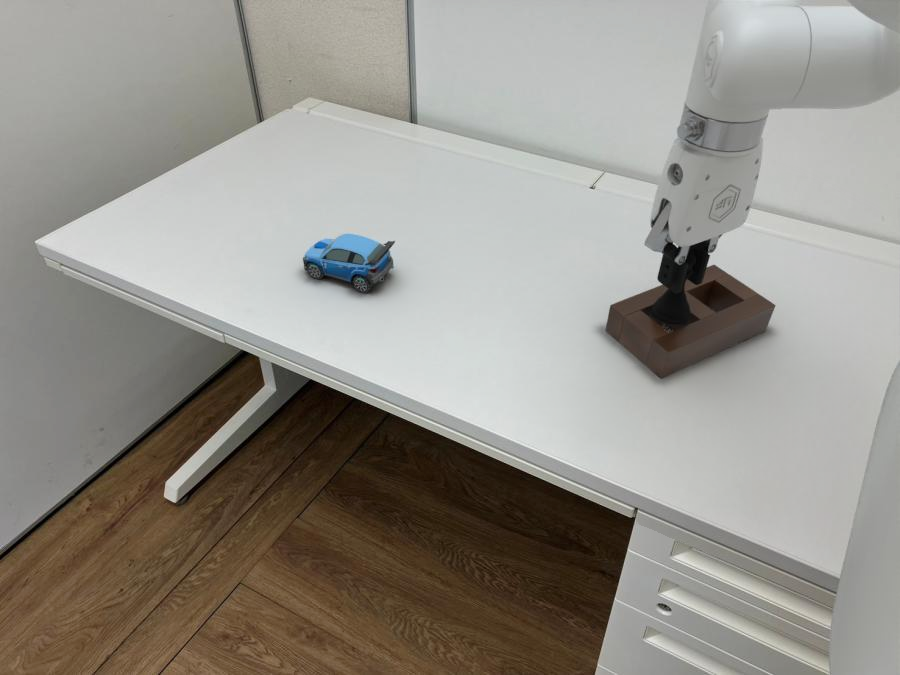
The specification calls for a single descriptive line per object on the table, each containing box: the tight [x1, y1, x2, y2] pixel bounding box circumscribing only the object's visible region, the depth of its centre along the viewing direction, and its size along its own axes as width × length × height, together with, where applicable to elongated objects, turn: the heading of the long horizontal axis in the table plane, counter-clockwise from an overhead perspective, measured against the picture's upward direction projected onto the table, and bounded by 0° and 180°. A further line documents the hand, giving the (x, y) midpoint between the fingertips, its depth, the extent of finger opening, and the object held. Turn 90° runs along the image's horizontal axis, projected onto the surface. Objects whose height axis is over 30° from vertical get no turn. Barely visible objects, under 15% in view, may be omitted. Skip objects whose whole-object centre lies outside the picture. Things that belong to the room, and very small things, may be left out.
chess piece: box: [652, 245, 696, 324], centre depth 78 cm, size 4×4×10 cm
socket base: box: [605, 264, 776, 380], centre depth 84 cm, size 10×17×4 cm, turn 120°
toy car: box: [302, 233, 396, 293], centre depth 92 cm, size 6×12×6 cm, turn 67°
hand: (679, 281), depth 79 cm, fingers closed on chess piece, 2 cm apart
